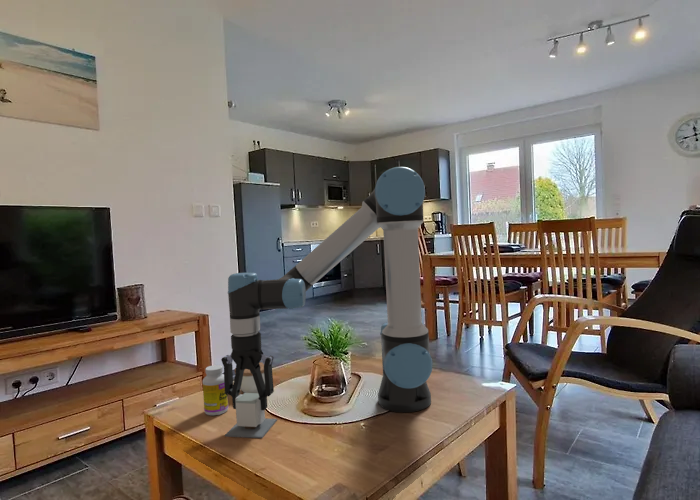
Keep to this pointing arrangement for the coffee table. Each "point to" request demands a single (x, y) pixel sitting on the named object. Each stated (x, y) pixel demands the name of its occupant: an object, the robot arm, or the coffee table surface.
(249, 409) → the pale grey block
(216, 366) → the supplement bottle
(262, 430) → the coaster
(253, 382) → the lidded jar
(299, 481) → the coffee table surface
